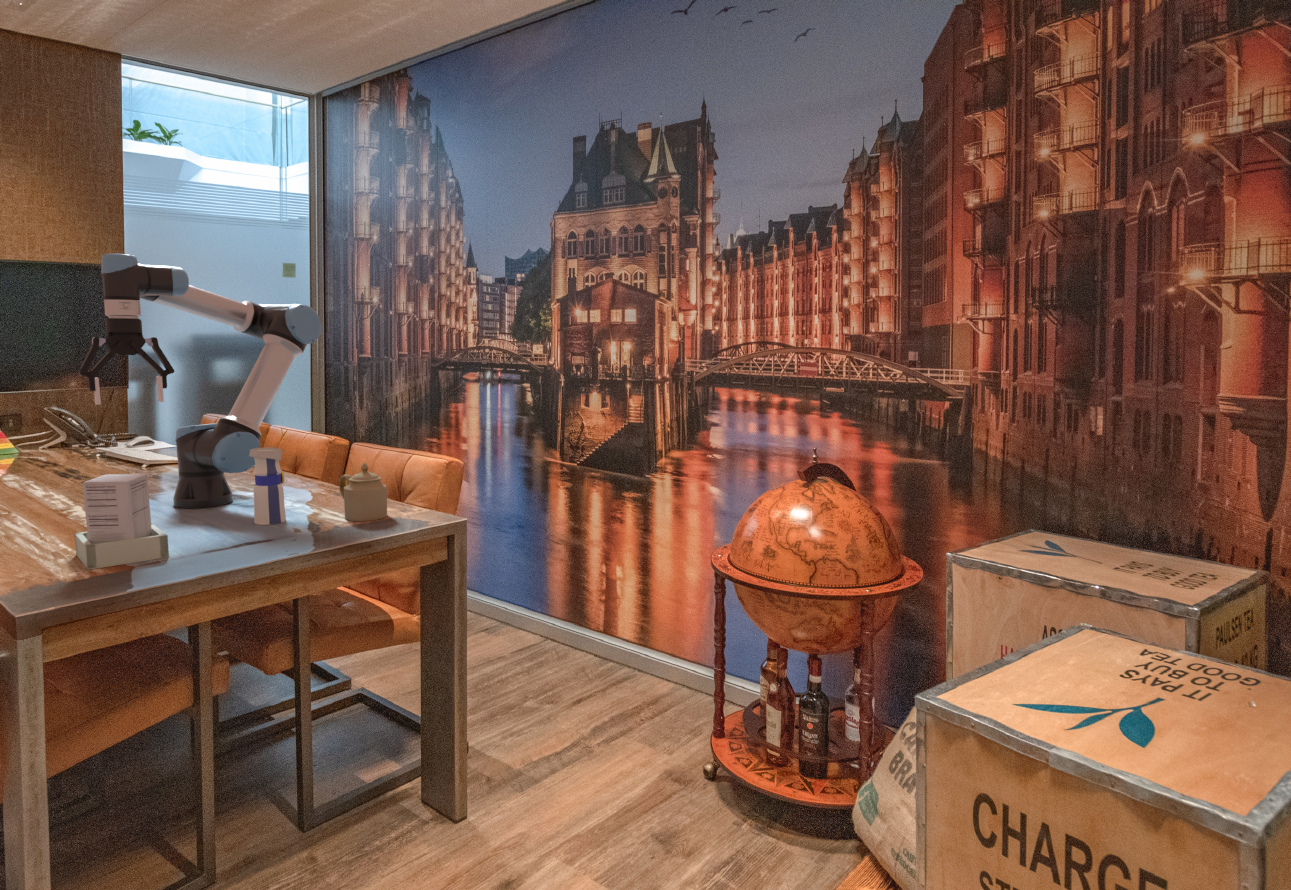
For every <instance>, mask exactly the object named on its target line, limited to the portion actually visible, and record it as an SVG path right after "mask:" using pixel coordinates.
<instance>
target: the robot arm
mask: <svg viewBox="0 0 1291 890" xmlns="http://www.w3.org/2000/svg"><path fill="white" fill-rule="evenodd" d="M100 264H101V265H100V268H101V271H100V274H101V279H102V289H103V301H104V302H103V304H104V315H105V316H106V317H107V318H106V319H105V329H106V337H105V338H103V337H97V336H94V337H92V338H91V343H90V348H89V350H88V351H87V353H86V355H85V357H84V359H83V362H82V364H81V366H80V367H79V369H78V372H77V373H78V375H80V376H84V377H86V378H87V383H88V390H89V391H90V392H94V393H93V394H94V405H96V406H97V405H98V406H99V405H102V401H101V393H100V392H101V390H100V389H101V388H100V378H99V377H96V376H97V375H98V373H99V372H100V371H101V370H102V369H103V368H105V366H106V365H107V364H108V362H109V361H110V360H111V359H112V358H113V357H115V355H117V356H126V355H127V356H136V355H137V356H139V357H140V358H141V359H142V360H144V361H145V363H147V364H148V365H149V366H150V367H151V368H152V369H153V370H154V371H155V372H156V373H157V374H159V375H156V376H155V378H156V379H155V380H156V393H157V401H158V402H159V403H163V402H165V400H164V389H167V387H168V381H167V379H168V378H167V377H168V375H171V374H174V373H175V369H174V368H173V366H172V365H171V363H170V361H169V359H168V358H167V356H166V355H165V354H164V352H163V350H162V349H161V348H160V345H159V340H158V338H157V337H153V336H152V337H149V338H144V335H143V325H142V324H143V321H142V319H141V318H139V317H141V316H142V312H141V300H145V301H149V302H153V303H156V304H159V305H163V306H165V307H166V306H167V307H169V308H173V309H175V310H179V311H182V312H185V313H189V314H192V315H195V316H199V317H202V318H205V319H208V320H211V321H214V322H218V323H220V324H221V323H222V324H224V325H228V326H231V327H233V329H234V330H235V331H237V332H239V333H242V334H245V335H248V336H252V337H253V338H257V339H260V340H262V341H264V343H265V344H264V346H263V347H262V350H261V351H260V353H259V356H258V357H257V360H256V362H255V363H254V365H253V367H252V369H251V371H250V373H249V375H248V377H247V379H246V381H245V382H244V384H243V386H242V388H241V390H240V392H239V394H238V396H237V398H236V400H235V402H234V404H233V406H232V407H231V410H230V412H229V413H228V414H227V415H226V416H222V417H220V418H219V420H218V422H215V423H206V424H204V423H203V424H195V425H194V424H193V425H186V426H180V427H178V428H177V429H176V432H175V442H176V455H177V458H176V459H177V468H178V481H177V483H176V488H175V491H174V495H173V498H172V499H173V506H174V507H177V508H183V509H184V508H186V509H199V508H211V507H218V506H222V505H223V506H224V505H226V504H229V503H232V502H233V500H234V499H233V498H234V497H233V492H232V490H231V487H230V486H229V482H228V480H227V478H226V476H225V473H226V474H241V473H244V472H247V471H250V470H251V469H252V468H253V467H255V460H254V457H250V456H249V453H250V450H251V449H255V448H261V442H260V440H261V437H262V433H261V430H260V426H261V425H262V423H263V421H264V419H265V417H266V415H267V413H268V411H269V409H270V407H271V405H272V403H273V401H274V399H275V397H276V395H277V393H278V391H279V389H280V387H281V385H282V383H283V380H284V379H285V377H286V374H287V373H288V371H289V369H290V367H291V365H292V364H293V361H294V359H295V358H296V357H301V356H302V355H303V353H304V351H305V349H306V347H307V345H310V344H313V343H315V342H316V341H318V339H319V338H320V337H321V334H322V329H323V328H322V322H321V319H320V316H319V314H318V312H317V311H315V309H314V308H312V307H311V306H309V305H307V304H304V303H303V304H301V303H298V302H297V303H290V304H289V303H287V304H281V303H280V304H279V303H278V304H277V303H274V304H270V303H269V304H266V303H265V304H263V303H257V302H252V301H249V300H242V301H239V300H236V299H232V298H229V297H226V296H223V295H221V294H218V293H215V292H212V291H208V290H206V289H202V288H199V287H196V286H194V285H191V284H190V282H189V276H188V273H187V271H186V270H185V269H183V268H181V267H179V266H172V265H156V264H143V263H139V262H138V259H137V257H136V255H133V254H126V253H125V254H124V253H105V254H103V255H102V256H101V262H100ZM103 344H106V346H107V347H108V348H109V349H108V350H107V351H106V352H105V354H104V355H103V356H102V357H101V358H100V359H99V361H98V362H96V364H95V365H94V366H93V367H92V368H91V369H90V370H89V368H90V366H91V365H92V362H93V360H94V358H95V356H96V354H97V352H98V350H99V347H102V346H103ZM145 344H147V345H148V346H149V347H151V349H152V351H154V354H155V356H156V357H157V358H158V359H159V361H160V363H161V364H162V367H163V368H164V369H163V368H162V367H161V366H160V365H159V364H158V363H157V361H155V360H154V359H153V358H151V356H150V355H149V354H148V353H147V352H146V351H145V350H144V349H143V347H144V346H145ZM88 370H89V371H88Z"/></svg>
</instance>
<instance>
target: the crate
mask: <svg viewBox="0 0 1291 890" xmlns="http://www.w3.org/2000/svg"><path fill="white" fill-rule="evenodd" d="M151 528H152V536H149V537H142V538H135V539H127V540H120V541H113V542H106V543H99V544H91V543H90V542H89V541H88V535H87V531H82V532H81V531H80V532H74V544H75V552H76V553H75V554H76V556H77V558H78V559H79V560H80V562H81V563H82V564H83V565H84V566H85V568H86V569H87V570H95V569H102V568H108V567H113V566H121V565H127V564H133V563H141V562H145V561H152V560H158V559H159V560H161V559H165V558H170V553H169V552H170V550H169V540H168V539H169V538H168V534H166V532H164V531H162V530H161V529H160V528H159V527H157V526H156V525H155V524H154V523H152V522H151Z"/></svg>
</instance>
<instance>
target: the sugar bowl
mask: <svg viewBox="0 0 1291 890" xmlns="http://www.w3.org/2000/svg"><path fill="white" fill-rule="evenodd" d="M360 470H361V472H359V473H355V474H353V475H352V476H351V475H350V474H348V473H347V474H343V475H341V476H340V477H339V480H338V486H339V487H338V488H339V492H340V495H341V497H342V499H343V505H344V518H345V520H347V521H349V522H350V521H351V522H352V521H353V522H371V521H373V522H374V521H378V519H379V520H382V519H384V518H386V517H387V516H388V496H387V495H388V490H387V484H384V483H382V482H381V480H382V477H381V476H379V475H378V474H377V473H374V472H370V471H369V465H368V464H367V463H366V462H363V463H362V465H361V466H360ZM346 484H347V485H346Z"/></svg>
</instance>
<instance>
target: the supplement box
mask: <svg viewBox="0 0 1291 890" xmlns="http://www.w3.org/2000/svg"><path fill="white" fill-rule="evenodd" d="M82 490H83V500H84V513H85V524H86V532H87V535H88V541H89V542H90V543H91V544H99V543H106V542H113V541H120V540H127V539H135V538H142V537H149V536H152V528H151V523H152V519H151V518H152V516H151V508H150V505H151V504H150V491H149V480H148V473H134V474H133V473H130V474H129V473H128V474H127V473H125V474H123V473H116V474H115V473H113V474H112V473H111V474H110V473H109V474H108V473H107V474H103V475H99V476H97V477H94V478H91V479H89V480H86V481H83V482H82Z"/></svg>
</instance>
